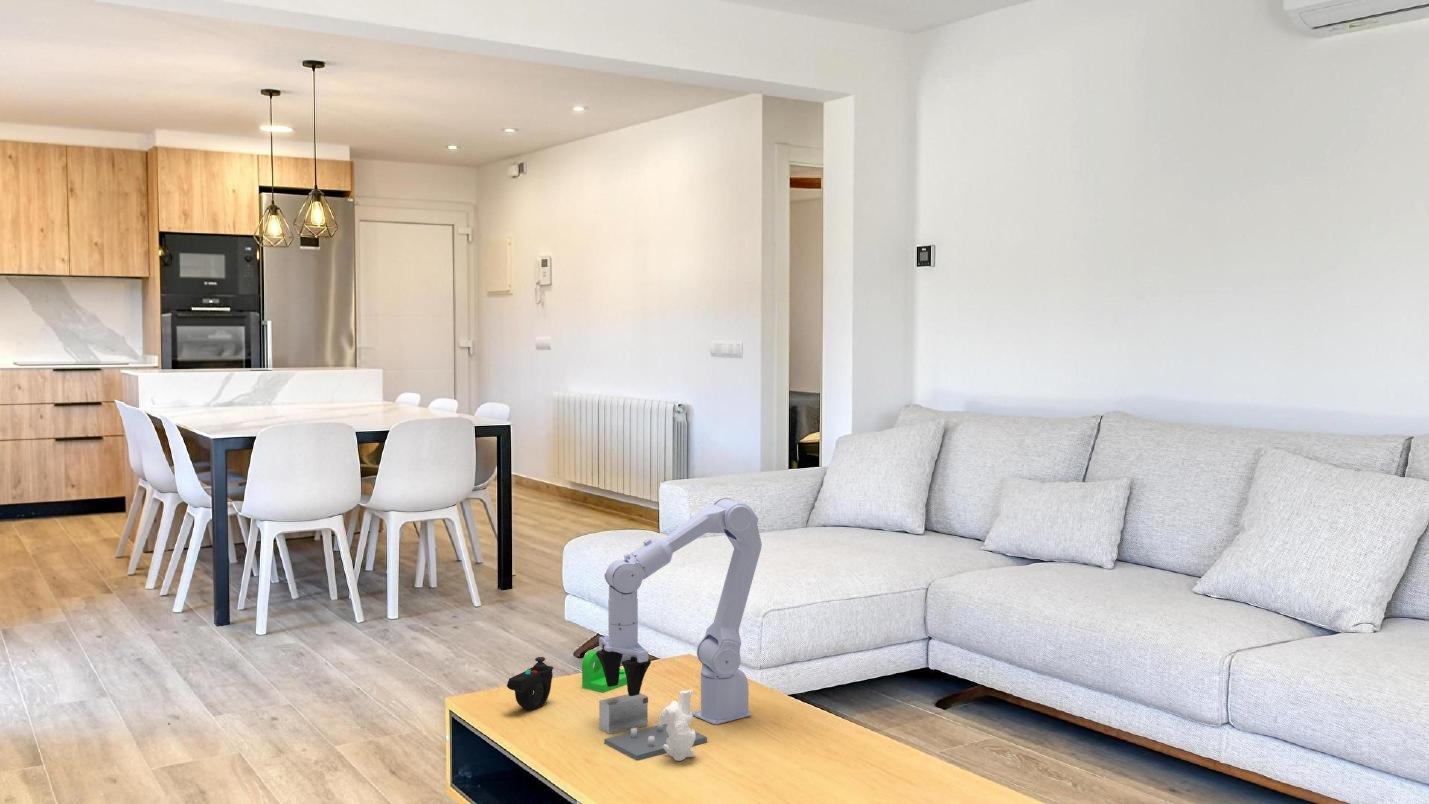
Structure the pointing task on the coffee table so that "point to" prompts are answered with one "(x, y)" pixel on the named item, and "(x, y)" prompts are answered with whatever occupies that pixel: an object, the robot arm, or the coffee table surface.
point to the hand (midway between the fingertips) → (623, 690)
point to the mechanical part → (597, 674)
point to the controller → (532, 685)
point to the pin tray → (645, 741)
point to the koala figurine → (679, 727)
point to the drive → (623, 713)
